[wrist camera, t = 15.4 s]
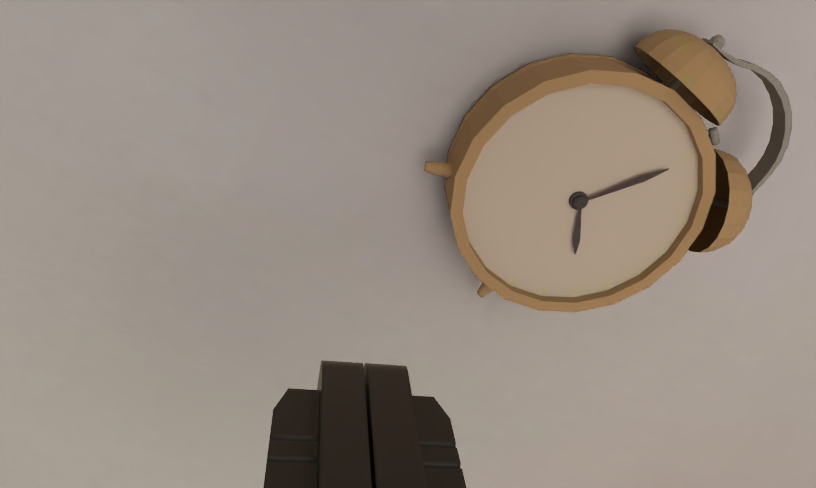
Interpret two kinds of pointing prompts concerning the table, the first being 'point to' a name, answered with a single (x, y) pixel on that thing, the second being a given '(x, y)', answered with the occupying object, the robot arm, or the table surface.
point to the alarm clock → (602, 172)
